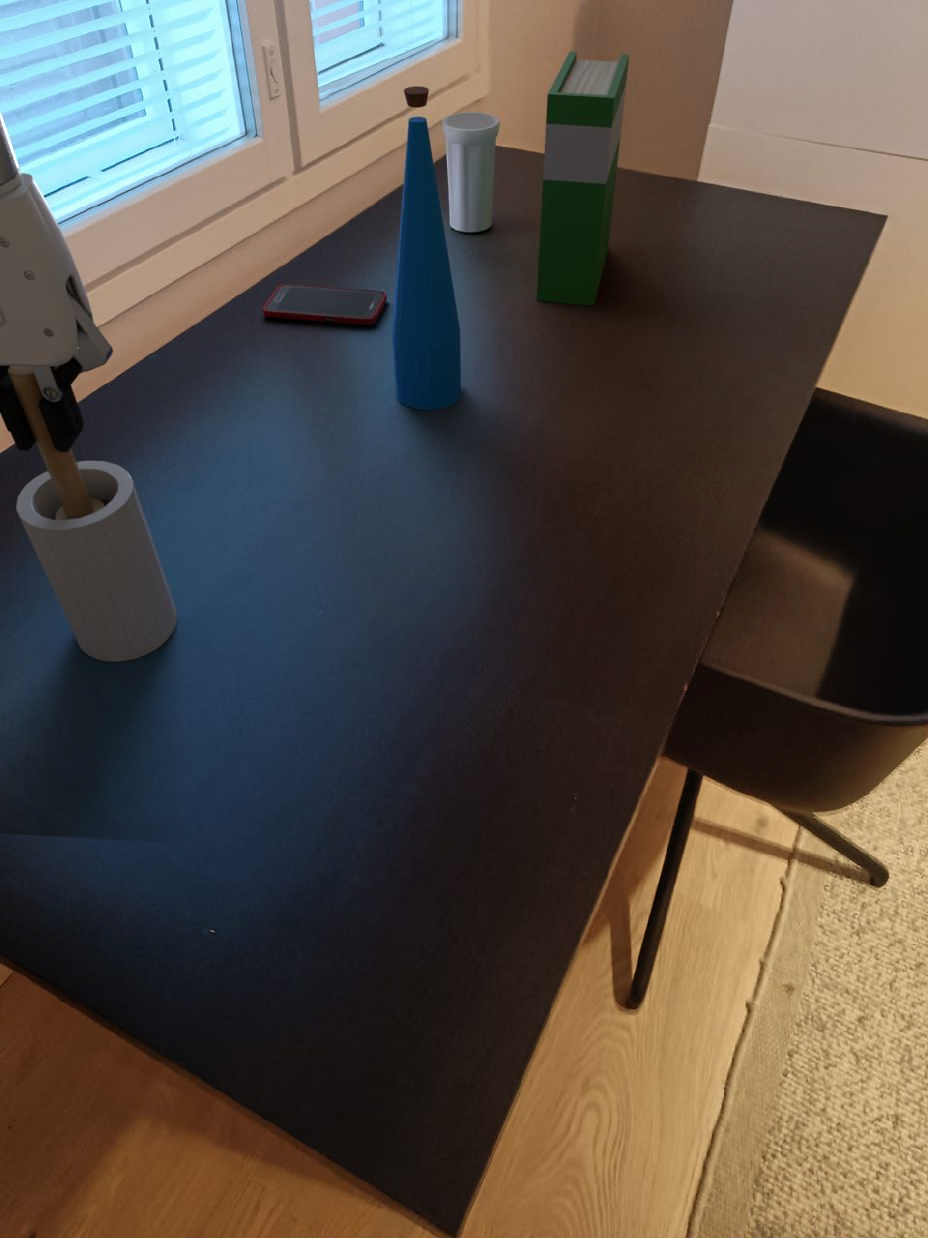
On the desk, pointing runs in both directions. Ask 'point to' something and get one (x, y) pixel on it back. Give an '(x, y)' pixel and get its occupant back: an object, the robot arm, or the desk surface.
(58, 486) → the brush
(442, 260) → the bottle
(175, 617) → the grey hollow tube
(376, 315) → the cell phone
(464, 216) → the cup
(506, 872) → the desk surface
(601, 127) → the hardback book
